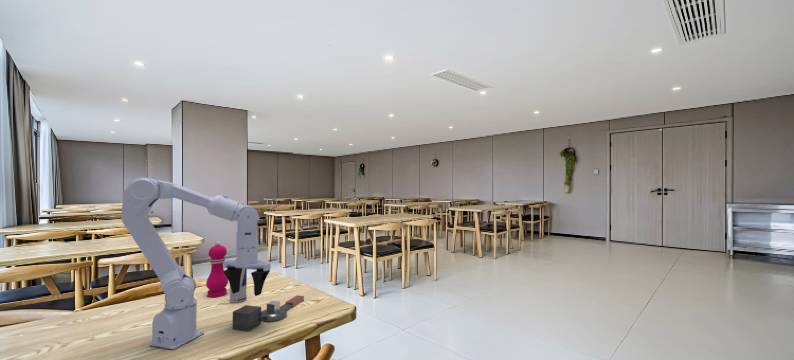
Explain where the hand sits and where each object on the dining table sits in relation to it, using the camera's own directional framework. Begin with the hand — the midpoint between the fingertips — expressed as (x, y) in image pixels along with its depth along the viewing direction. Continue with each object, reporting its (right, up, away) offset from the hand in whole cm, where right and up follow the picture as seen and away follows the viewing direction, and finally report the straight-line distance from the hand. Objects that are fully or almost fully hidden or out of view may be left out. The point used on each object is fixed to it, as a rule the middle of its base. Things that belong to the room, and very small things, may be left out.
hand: (246, 293), depth 95 cm
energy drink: (-13, -10, +21) cm, 26 cm away
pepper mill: (-23, -10, +27) cm, 37 cm away
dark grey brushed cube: (0, -10, 0) cm, 10 cm away
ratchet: (+7, -10, +12) cm, 17 cm away
